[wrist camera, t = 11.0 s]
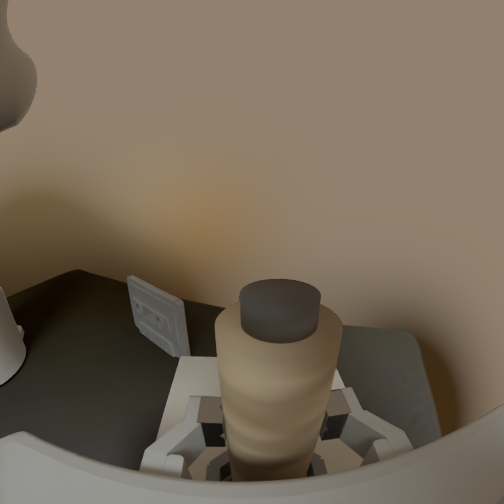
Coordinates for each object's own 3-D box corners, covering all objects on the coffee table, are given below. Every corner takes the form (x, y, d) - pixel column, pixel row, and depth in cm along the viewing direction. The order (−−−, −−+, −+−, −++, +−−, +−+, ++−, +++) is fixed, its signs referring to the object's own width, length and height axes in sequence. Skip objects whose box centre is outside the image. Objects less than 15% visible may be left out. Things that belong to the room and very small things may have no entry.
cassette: (195, 358, 29) (187, 299, 27) (182, 365, 28) (173, 305, 26) (143, 322, 36) (134, 273, 34) (132, 327, 35) (122, 276, 33)
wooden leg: (233, 511, 9) (204, 329, 6) (233, 461, 13) (218, 272, 10) (305, 507, 10) (369, 320, 6) (296, 458, 13) (325, 269, 10)
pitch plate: (141, 534, 8) (71, 475, 6) (183, 363, 28) (172, 286, 25) (389, 519, 9) (463, 449, 6) (325, 359, 28) (336, 283, 26)
